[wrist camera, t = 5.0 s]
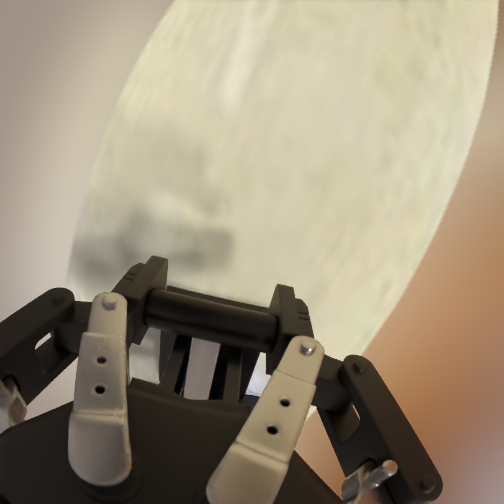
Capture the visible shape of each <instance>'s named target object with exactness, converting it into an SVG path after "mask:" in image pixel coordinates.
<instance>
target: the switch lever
mask: <svg viewBox="0 0 504 504" xmlns="http://www.w3.org/2000/svg"><path fill="white" fill-rule="evenodd" d="M144 324H145V325H146V326H149V327H153V328H156V329H160V330H164V331H167V332H171V333H175V334H179V335H183V336H187V337H191V338H192V343H191V350H190V356H189V362H188V368H187V375H186V382H185V388H184V395H183V397H185V398H187V399H194V400H208V398H209V393H210V389H211V384H212V380H213V375H214V370H215V366H216V361H217V357H218V352H219V348H220V344H222V345H227V346H232V347H236V348H241V349H247V350H252V351H257V352H263V353H270V352H271V351H272V349H273V346H274V343H275V340H276V335H277V330H278V317H277V316H276V315H272V314H267V313H262V312H257V311H252V310H248V309H243V308H238V307H234V306H229V305H224V304H220V303H216V302H211V301H207V300H202V299H198V298H194V297H190V296H186V295H182V294H178V293H174V292H170V291H166V290H162V289H158V288H153V289H152V290H151V291H150V293H149V295H148V297H147V300H146V304H145V309H144Z"/></svg>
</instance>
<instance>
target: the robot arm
mask: <svg viewBox="0 0 504 504" xmlns="http://www.w3.org/2000/svg"><path fill="white" fill-rule="evenodd" d="M167 270H168V259H166V258H162V257H157V256H151V258H150V259H149V260H148V261H147V263H146V264H142V263H139V264H136V265H134V266H132V267H131V268H130V269H129V271H128V272H127V274H125V275H124V277H123V278H122V279H121V280H120V281H119V283H118V284H117V285H116V286H115V288H114V289H113V290H112V291H111V292H105V293H101V294H99V295H97V296H96V297H95V298H94V299H93V302H82V301H75V299H74V294H73V293H72V291H70V290H68V289H66V288H53V289H50V290H48V291H47V292H45V293H44V294H42V295H40V296H39V297H38V298H36V299H34V300H33V301H32V302H30V303H28V304H27V305H25V306H24V307H22V308H21V309H19V310H18V311H16V312H15V313H13V314H12V315H10V316H9V317H8V318H6V319H5V320H3V321H2V322H1V323H0V504H429V503H431V502H432V501H434V500H436V499H437V498H438V497H439V495H440V494H441V492H442V488H443V482H442V479H441V476H440V475H439V473H438V471H437V469H436V467H435V466H434V464H433V463H432V460H431V459H430V457H429V455H428V454H427V452H426V450H425V448H424V447H423V445H422V443H421V442H420V440H419V438H418V437H417V435H416V433H415V432H414V430H413V428H412V427H411V425H410V423H409V422H408V420H407V418H406V417H405V415H404V414H403V412H402V410H401V409H400V407H399V405H398V404H397V402H396V400H395V399H394V397H393V396H392V394H391V392H390V391H389V389H388V388H387V386H386V385H385V383H384V381H383V380H382V378H381V377H380V375H379V374H378V372H377V370H376V369H375V367H374V366H373V364H372V363H371V362H370V361H369V360H367V359H366V358H364V357H362V356H359V355H349V356H347V357H346V358H345V359H344V361H343V362H342V361H340V360H337V359H334V358H331V357H329V356H327V355H325V354H324V348H323V346H322V345H321V344H320V343H319V342H318V341H317V340H315V339H314V334H313V330H312V325H311V321H310V316H309V312H308V307H307V306H306V304H305V303H304V302H303V301H302V300H301V299H296V298H295V295H294V289H293V287H290V286H285V285H280V284H277V285H276V288H275V291H274V294H273V297H272V300H271V303H270V307H269V310H268V313H267V314H272V315H276V316H277V317H278V330H277V335H276V340H275V343H274V346H273V349H272V351H271V352H270V353H266V374H268V375H272V376H271V378H270V380H269V382H268V383H267V385H266V387H265V389H264V391H263V393H262V394H261V396H260V398H259V400H258V402H257V403H256V405H255V407H254V409H253V410H252V412H251V413H250V406H251V405H249V404H243V403H237V402H231V401H226V400H194V399H187V398H185V397H183V396H181V395H179V394H177V393H174V392H172V391H170V390H168V389H166V388H164V387H162V386H160V385H157V384H153V383H150V382H146V381H143V380H140V379H136V378H132V380H131V382H130V373H129V347H130V346H131V344H132V343H134V344H137V345H140V344H141V342H142V340H143V337H144V335H145V333H146V331H147V329H148V328H149V326H146V325H145V324H144V309H145V304H146V300H147V297H148V295H149V293H150V291H151V290H152V289H153V288H158V289H162V290H165V289H166V280H167ZM49 332H50V334H51V337H50V338H49V339H48V340H47V341H46V342H44V343H43V344H42V345H41V346H39V347H38V348H37V349H36V350H35V346H36V344H37V342H38V341H39V340H41V339H42V338H43V337H44V336H45V335H47V334H48V333H49ZM78 356H79V357H78ZM77 357H78V365H77V372H76V381H75V391H74V401H71V402H69V403H67V404H64V405H62V406H60V407H58V408H55V409H53V410H50V411H48V412H46V413H43V414H41V415H39V416H36V417H34V418H31V419H29V420H26V421H25V419H24V418H25V416H26V413H27V407H26V406H27V405H28V404H29V403H30V402H31V401H32V400H33V399H34V398H35V397H36V396H37V395H39V394H40V393H41V392H42V391H43V390H44V389H45V388H46V387H47V386H48V385H49V384H50V383H51V382H52V381H53V380H54V379H55V378H56V377H57V376H58V375H59V374H60V373H61V372H62V371H63V370H64V369H66V368H67V367H68V366H69V365H70V364H71V363H72V362H73V361H74V360H75V359H76V358H77ZM310 405H313V406H316V407H317V410H318V413H319V415H320V418H321V420H322V422H323V425H324V427H325V430H326V432H327V434H328V436H329V439H330V441H331V444H332V446H333V448H334V451H335V453H336V456H337V458H338V461H339V463H340V465H341V468H342V470H343V472H344V475H345V477H346V479H345V480H344V482H343V484H342V499H340V498H339V497H338V496H337V495H336V494H335V493H334V492H333V491H332V490H331V489H330V488H329V487H328V486H327V484H325V482H324V481H323V480H322V479H321V478H320V477H319V476H318V475H317V474H316V473H315V472H314V471H313V470H312V469H311V468H310V467H309V466H308V464H307V463H306V462H305V461H304V460H303V459H302V458H301V457H300V456H299V455H298V453H297V452H296V451H295V450H294V448H295V446H296V443H297V441H298V438H299V435H300V433H301V430H302V428H303V425H304V422H305V419H306V417H307V414H308V411H309V408H310ZM353 405H354V406H355V408H356V410H357V412H358V414H359V416H360V420H359V418H358V416H357V414H356V412H355V410H354V408H353Z"/></svg>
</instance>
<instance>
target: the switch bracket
mask: <svg viewBox="0 0 504 504" xmlns="http://www.w3.org/2000/svg"><path fill="white" fill-rule="evenodd" d="M166 291H170V292H174V293H178V294H182V295H186V296H190V297H194V298H198V299H202V300H207V301H211V302H216V303H220V304H224V305H229V306H234V307H238V308H243V309H248V310H252V311H257V312H262V313H268V310H269V309H267V308H263V307H258V306H253V305H248V304H243V303H239V302H234V301H230V300H225V299H221V298H216V297H212V296H207V295H203V294H199V293H195V292H190V291H186V290H182V289H178V288H174V287H170V286H168V287H167V288H166ZM191 343H192V338H191V337H187V336H183V335H179V334H175V333H171V332H167V331H164V330H161V336H160V358H159V381H160V384H159V385H160V386H162V387H164V388H166V389H168V390H170V391H172V392H174V393H177V394H179V395H180V392H181V388H182V387H185V382H186V375H187V368H188V362H189V356H190V350H191ZM259 354H260V352H257V351H252V350H247V349H241V348H236V347H232V346H227V345H222V344H220V348H219V352H218V357H217V361H216V366H215V370H214V375H213V380H212V384H211V389H210V393H212V394H216V395H218V400H226V401H231V402H237V403H238V399H243V398H244V395H245V393H246V390H247V387H248V385H249V382H250V379H251V376H252V374H253V371H254V368H255V365H256V363H257V360H258V357H259Z"/></svg>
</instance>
